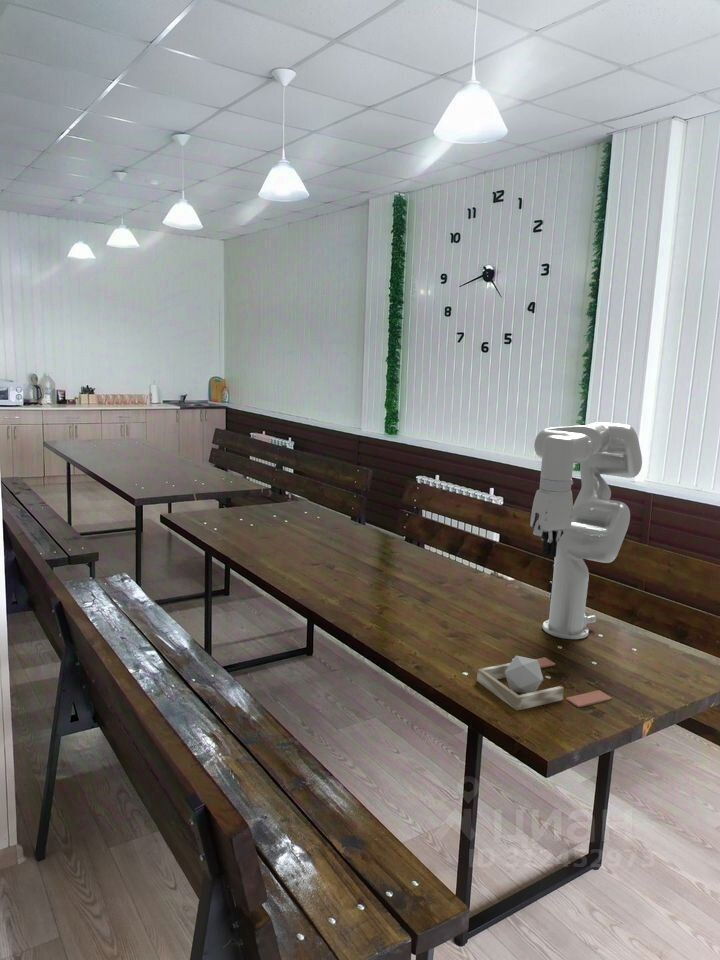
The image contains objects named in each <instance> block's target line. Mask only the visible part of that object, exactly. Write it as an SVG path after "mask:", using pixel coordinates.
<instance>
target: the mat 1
mask: <svg viewBox="0 0 720 960" xmlns="http://www.w3.org/2000/svg"><path fill="white" fill-rule="evenodd" d="M534 659H535V660H538V662H539V666H540V669H543V668H548V667H552V666H553V667H554V666H556V663H555V662H553V661H552V660H551V659H549V658H547V657H545V656H544V657H540V658H534Z"/></svg>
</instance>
